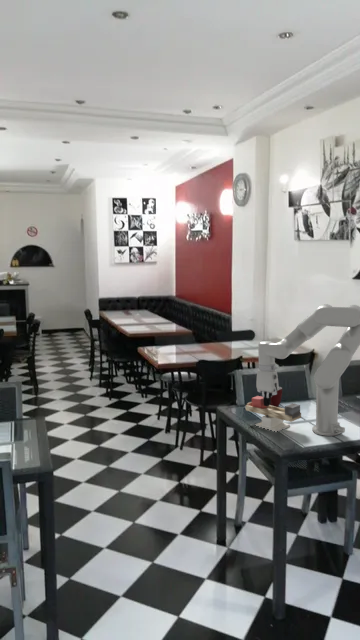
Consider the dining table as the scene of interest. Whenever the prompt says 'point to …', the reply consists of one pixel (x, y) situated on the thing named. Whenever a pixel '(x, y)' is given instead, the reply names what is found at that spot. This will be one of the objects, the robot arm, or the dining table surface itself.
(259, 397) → the block
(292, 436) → the dining table surface
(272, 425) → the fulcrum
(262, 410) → the beam
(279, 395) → the mug
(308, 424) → the dining table surface
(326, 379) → the robot arm
